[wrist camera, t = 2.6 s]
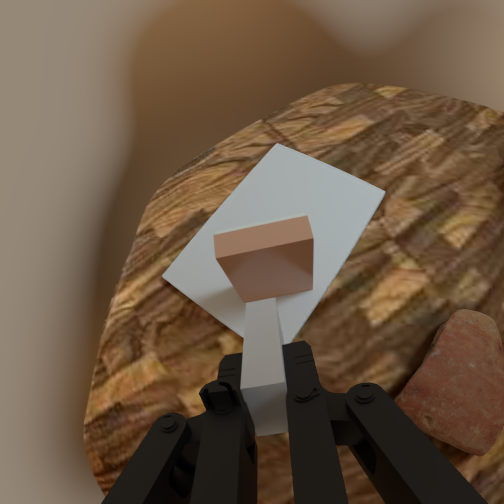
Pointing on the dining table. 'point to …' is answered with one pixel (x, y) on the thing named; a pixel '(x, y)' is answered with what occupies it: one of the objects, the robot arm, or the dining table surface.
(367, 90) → the dining table surface
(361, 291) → the dining table surface
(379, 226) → the dining table surface
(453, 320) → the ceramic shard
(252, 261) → the terracotta tile
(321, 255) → the grey mat
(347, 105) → the dining table surface
